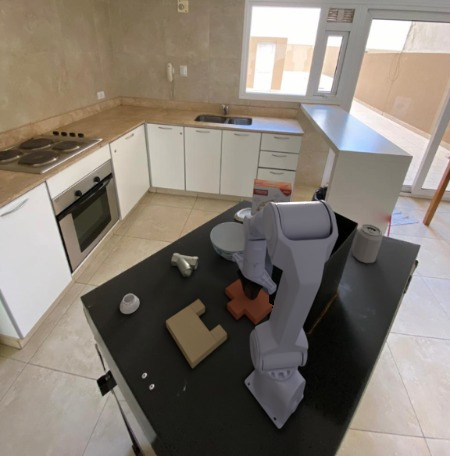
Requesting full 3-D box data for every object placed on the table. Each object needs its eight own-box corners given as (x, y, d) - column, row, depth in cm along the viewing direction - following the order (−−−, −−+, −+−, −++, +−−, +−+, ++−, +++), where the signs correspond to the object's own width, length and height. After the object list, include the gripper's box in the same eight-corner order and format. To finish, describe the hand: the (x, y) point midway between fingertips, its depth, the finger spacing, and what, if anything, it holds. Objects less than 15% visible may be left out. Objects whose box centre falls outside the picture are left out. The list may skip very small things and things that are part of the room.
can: (375, 254, 91) (384, 227, 86) (374, 268, 85) (383, 239, 80) (352, 246, 94) (360, 219, 90) (350, 258, 88) (358, 230, 84)
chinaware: (247, 275, 80) (249, 256, 77) (203, 262, 84) (203, 244, 81) (256, 244, 93) (258, 227, 90) (218, 235, 97) (218, 218, 94)
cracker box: (248, 232, 100) (253, 185, 92) (249, 223, 105) (254, 178, 98) (284, 237, 98) (292, 189, 90) (284, 227, 103) (291, 182, 96)
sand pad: (226, 339, 62) (227, 333, 61) (192, 368, 55) (192, 363, 55) (198, 303, 70) (198, 298, 69) (166, 326, 64) (165, 320, 63)
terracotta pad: (275, 307, 70) (277, 292, 68) (247, 332, 63) (249, 316, 61) (244, 279, 78) (246, 265, 76) (217, 298, 72) (218, 284, 70)
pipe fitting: (192, 281, 77) (198, 263, 83) (191, 272, 76) (198, 254, 82) (167, 276, 79) (175, 259, 85) (166, 267, 77) (174, 250, 83)
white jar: (119, 301, 70) (120, 317, 65) (118, 294, 68) (119, 309, 64) (138, 295, 72) (140, 310, 67) (137, 287, 71) (139, 302, 66)
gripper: (286, 265, 63) (279, 304, 68) (245, 235, 73) (242, 270, 78) (267, 280, 59) (262, 320, 64) (227, 245, 69) (225, 282, 74)
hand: (250, 294), depth 71 cm, fingers closed on terracotta pad, 2 cm apart
